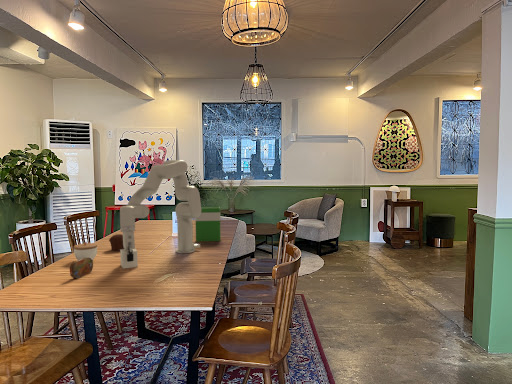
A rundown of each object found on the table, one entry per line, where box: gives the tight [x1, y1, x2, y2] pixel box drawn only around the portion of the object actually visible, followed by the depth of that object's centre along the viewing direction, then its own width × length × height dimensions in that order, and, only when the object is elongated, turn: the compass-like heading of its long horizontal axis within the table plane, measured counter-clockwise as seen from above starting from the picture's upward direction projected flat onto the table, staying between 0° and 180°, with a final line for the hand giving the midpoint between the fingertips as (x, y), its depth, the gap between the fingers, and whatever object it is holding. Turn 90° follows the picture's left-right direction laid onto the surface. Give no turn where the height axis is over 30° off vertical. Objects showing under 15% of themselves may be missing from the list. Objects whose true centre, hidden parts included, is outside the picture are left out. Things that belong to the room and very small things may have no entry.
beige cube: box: [119, 248, 139, 269], centre depth 205 cm, size 8×8×9 cm
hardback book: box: [195, 206, 222, 242], centre depth 275 cm, size 18×7×24 cm, turn 93°
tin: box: [69, 258, 94, 279], centre depth 187 cm, size 15×3×8 cm, turn 168°
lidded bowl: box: [73, 241, 98, 261], centre depth 217 cm, size 13×13×11 cm
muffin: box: [108, 233, 124, 252], centre depth 246 cm, size 12×11×10 cm
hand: (128, 259), depth 205 cm, fingers open, 9 cm apart
